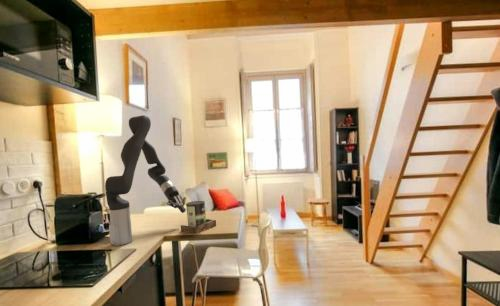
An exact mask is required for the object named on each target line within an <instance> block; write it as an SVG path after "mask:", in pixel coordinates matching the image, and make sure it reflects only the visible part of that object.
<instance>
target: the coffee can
mask: <svg viewBox="0 0 500 306" xmlns="http://www.w3.org/2000/svg"><path fill="white" fill-rule="evenodd" d="M185 206H186V215H187V216H186V218H187V226H191V227H196V226H198V225H201V224H204V223H206V219H207V218H206V214H207V213H206V205H205V201H204V200H193V201H189V202H187V203H186V202H185Z"/></svg>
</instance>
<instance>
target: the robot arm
mask: <svg viewBox="0 0 500 306" xmlns="http://www.w3.org/2000/svg"><path fill="white" fill-rule="evenodd" d="M151 122H152V121H151V119H150V117H149V116H148V115H138V116H137V115H136V116H133V117H130V118H129V120H128V127H129V129H130V131H131V133H132V134H133V135H131V137H129V139H128V140H126V142H125V143H124V145H123V147H122V150H121V153H120V159H121V161H122V163H123V166H124V170H123V173H122V175H115V176H109V177H107V178H106V180H105V184H104V189H105V191H104V192H105V196H106V203H107V206H108V211H109V222H110V224H109V225H108V230H109V231H108V232H109V241H110V242H109V243H110V245H112V246H115V247H118V246H123V245H127V244H130V243H132V242H133V232H132V220H131V219H132V218H131V210H130V209H131V208H130V202H129V201H128V200H126V199H124V198H122V197H121V195H127V194H129V192H130V191H131V189H132V186H133V181H134V175H135V171H136V168H137V165H138V162H139V159H140V156H141V153H143V156H144V158H145V161H146V164H148V165H154V164H155V165H154V166H152V167H150V168H148V169H147V175H148V176H149V178H150V179H152V180H153V181H154V182H155V183H156V184H158V186H159V188H160V190H161V191H162V193H163V195H164V196H165V197H166V199H167V202H166V205H167V206H169V207H172V208H174V209H178V210H179V211H180V213H182V214H183V213H185V212H187V208H185V205H186V196H182V195H180V193H179V191H178V189H177V188H176V186H175V185H174V183H173V182H172V181H171V179H169V176H167V175H165V174H166V167H165V166H164V164H163V163H162V162H161V161H160V158H159V157H158V154H157V151H156V149H155V147H154V145H152V144H151V143H150V142H149V141H148V140H147V139H146V138H147V135H148V134H149V131H150V129H151Z"/></svg>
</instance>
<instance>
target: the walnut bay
mask: <svg viewBox="0 0 500 306" xmlns="http://www.w3.org/2000/svg"><path fill="white" fill-rule="evenodd" d="M216 221H217V220H216V219H212V218H206V223H204V224H201V225H198V226H196V227H191V226H188V225H186V224H181V225H180V231H181V232H185V233H190V234H196V233H200V232H202V231H204V229H205V230H207V228H208V229H210V228H213V227H215V226H217V222H216ZM201 230H202V231H201ZM199 231H200V232H199Z"/></svg>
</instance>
